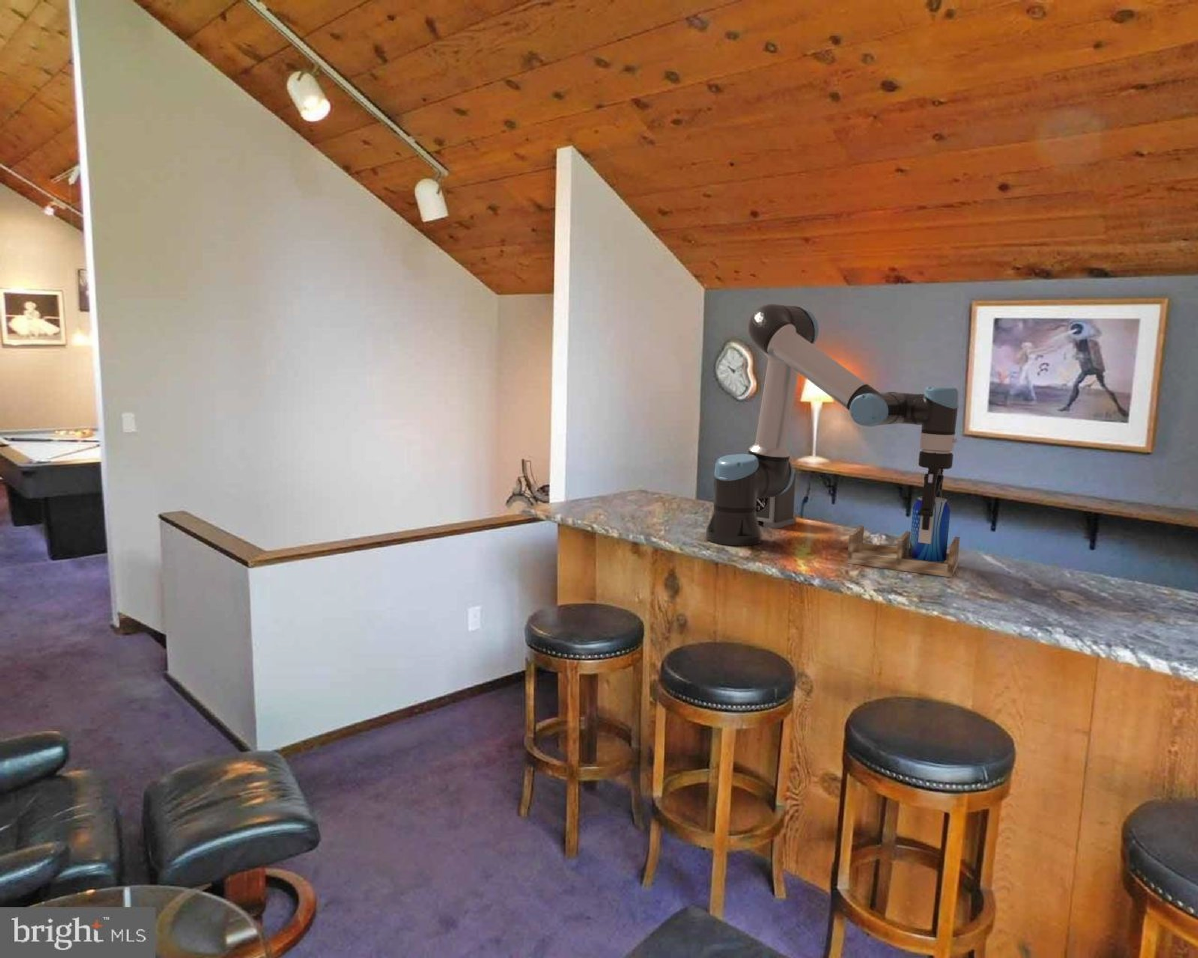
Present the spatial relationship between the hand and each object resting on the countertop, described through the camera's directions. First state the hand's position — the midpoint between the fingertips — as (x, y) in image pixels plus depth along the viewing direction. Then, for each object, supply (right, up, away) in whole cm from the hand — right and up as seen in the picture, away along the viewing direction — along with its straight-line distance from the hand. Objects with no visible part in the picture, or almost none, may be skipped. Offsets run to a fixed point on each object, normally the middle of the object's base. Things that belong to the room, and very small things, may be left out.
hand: (928, 537), depth 196 cm
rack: (-5, -7, +4) cm, 9 cm away
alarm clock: (-30, +1, +54) cm, 62 cm away
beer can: (0, -6, +1) cm, 7 cm away
